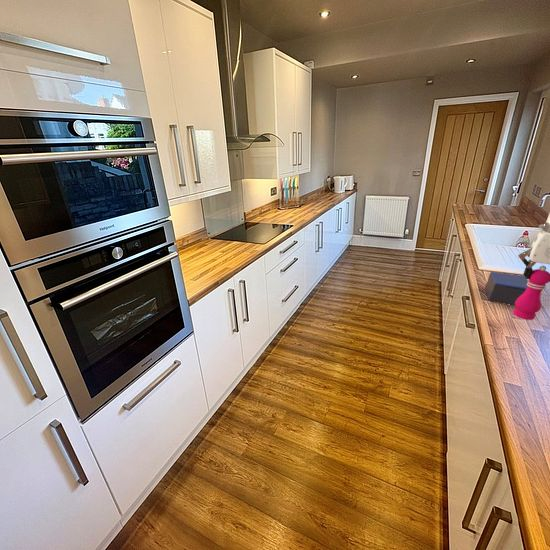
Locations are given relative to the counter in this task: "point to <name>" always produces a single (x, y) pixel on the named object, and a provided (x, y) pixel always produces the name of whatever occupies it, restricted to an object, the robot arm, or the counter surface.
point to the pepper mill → (532, 294)
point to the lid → (509, 280)
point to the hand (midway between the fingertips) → (538, 279)
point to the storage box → (502, 292)
